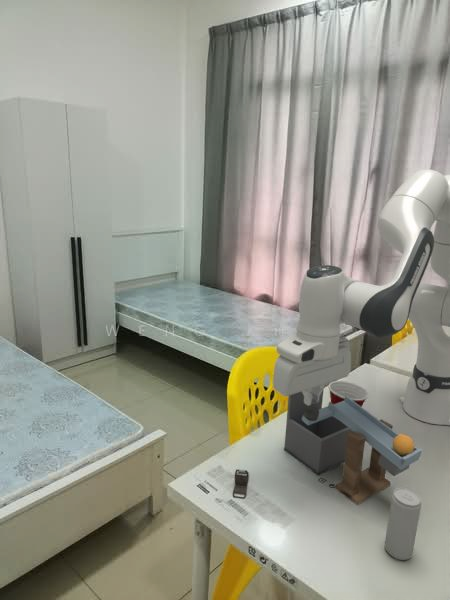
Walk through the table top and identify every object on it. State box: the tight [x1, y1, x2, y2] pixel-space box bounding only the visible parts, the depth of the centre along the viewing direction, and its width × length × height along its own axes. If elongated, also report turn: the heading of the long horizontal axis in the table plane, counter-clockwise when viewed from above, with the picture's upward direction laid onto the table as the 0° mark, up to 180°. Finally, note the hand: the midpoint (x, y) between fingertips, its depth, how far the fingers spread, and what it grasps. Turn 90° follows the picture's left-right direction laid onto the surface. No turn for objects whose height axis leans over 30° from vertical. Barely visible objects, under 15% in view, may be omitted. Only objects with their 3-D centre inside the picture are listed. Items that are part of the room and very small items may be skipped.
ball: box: [393, 433, 415, 455], centre depth 86 cm, size 4×4×4 cm
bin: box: [284, 388, 353, 476], centre depth 105 cm, size 12×12×16 cm
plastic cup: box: [328, 380, 370, 408], centre depth 118 cm, size 11×11×12 cm
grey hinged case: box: [232, 469, 250, 500], centre depth 94 cm, size 8×3×4 cm, turn 171°
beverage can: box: [384, 487, 422, 561], centre depth 77 cm, size 5×5×12 cm
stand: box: [335, 419, 393, 505], centre depth 94 cm, size 11×6×14 cm, turn 124°
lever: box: [302, 396, 423, 478], centre depth 90 cm, size 14×20×6 cm
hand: (311, 403), depth 93 cm, fingers closed
